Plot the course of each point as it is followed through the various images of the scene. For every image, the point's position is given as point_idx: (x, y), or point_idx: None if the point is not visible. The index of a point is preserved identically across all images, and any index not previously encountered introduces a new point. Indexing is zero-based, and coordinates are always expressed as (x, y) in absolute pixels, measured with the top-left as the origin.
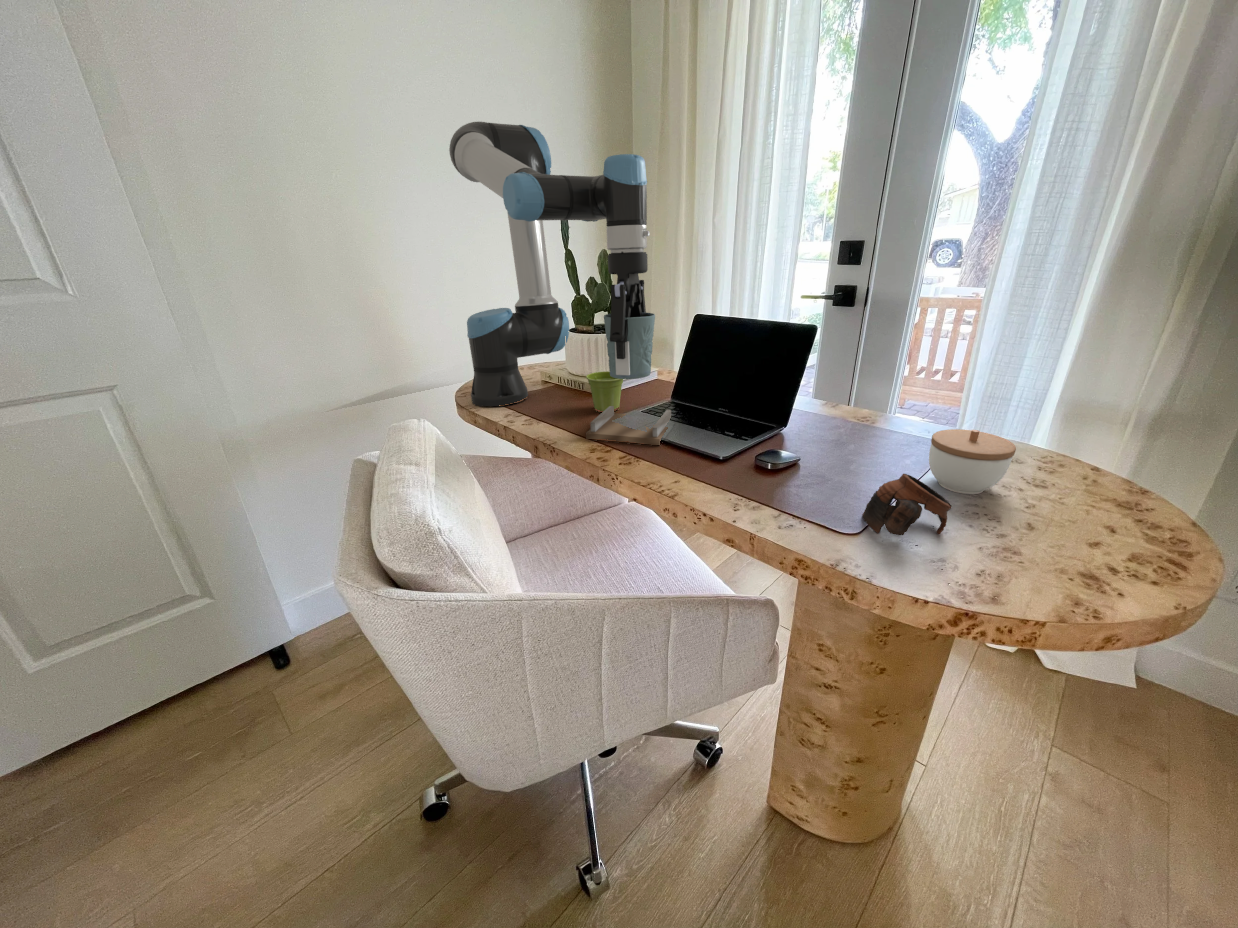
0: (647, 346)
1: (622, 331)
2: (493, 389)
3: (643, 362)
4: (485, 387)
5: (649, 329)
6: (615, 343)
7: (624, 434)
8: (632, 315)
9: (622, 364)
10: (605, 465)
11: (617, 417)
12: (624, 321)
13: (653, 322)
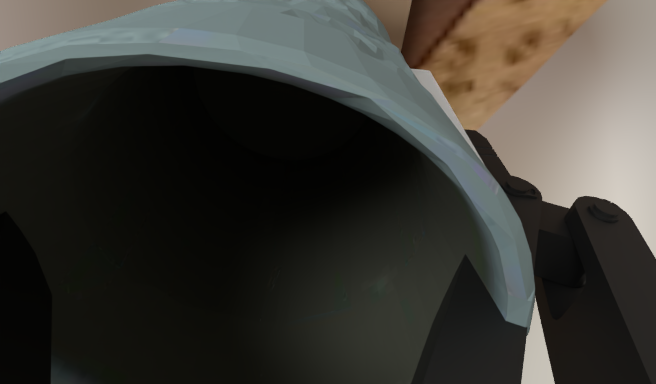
0: (354, 13)
1: (647, 247)
2: None
3: (369, 15)
4: None
5: (347, 37)
6: None
7: (392, 21)
8: (39, 324)
9: None
10: (565, 28)
11: None
12: (637, 311)
13: (240, 15)
